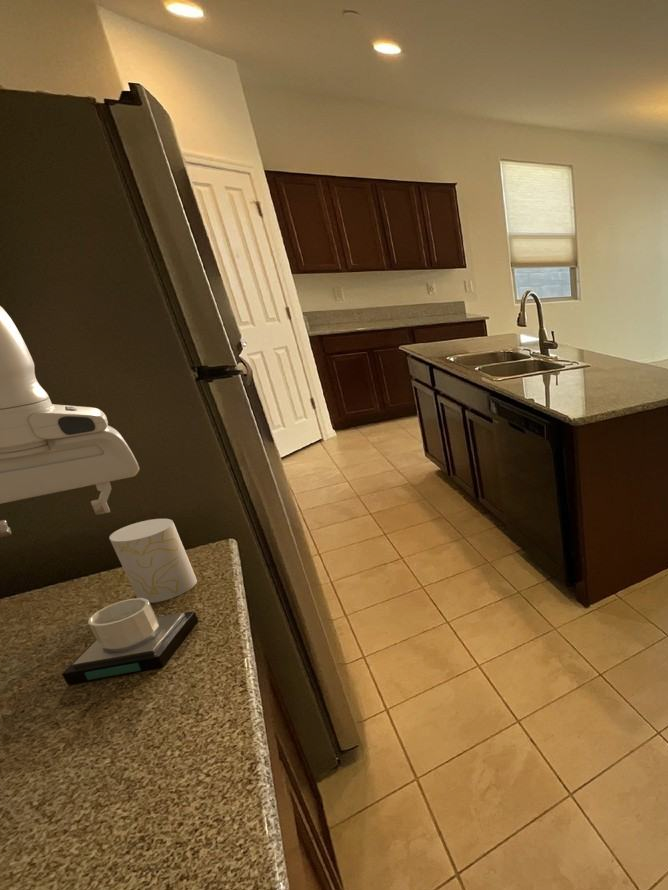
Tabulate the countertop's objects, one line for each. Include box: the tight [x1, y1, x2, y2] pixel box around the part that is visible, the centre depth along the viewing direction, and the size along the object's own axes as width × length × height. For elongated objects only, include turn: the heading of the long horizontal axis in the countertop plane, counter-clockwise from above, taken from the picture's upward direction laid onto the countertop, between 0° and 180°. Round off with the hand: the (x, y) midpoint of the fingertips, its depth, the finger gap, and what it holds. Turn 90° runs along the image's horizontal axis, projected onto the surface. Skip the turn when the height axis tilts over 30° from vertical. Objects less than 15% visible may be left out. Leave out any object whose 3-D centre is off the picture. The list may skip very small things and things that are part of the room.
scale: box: [61, 610, 199, 686], centre depth 77 cm, size 11×11×3 cm
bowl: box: [87, 597, 159, 649], centre depth 76 cm, size 6×6×4 cm
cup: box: [108, 518, 198, 604], centre depth 90 cm, size 8×8×12 cm
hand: (55, 523), depth 71 cm, fingers open, 8 cm apart
